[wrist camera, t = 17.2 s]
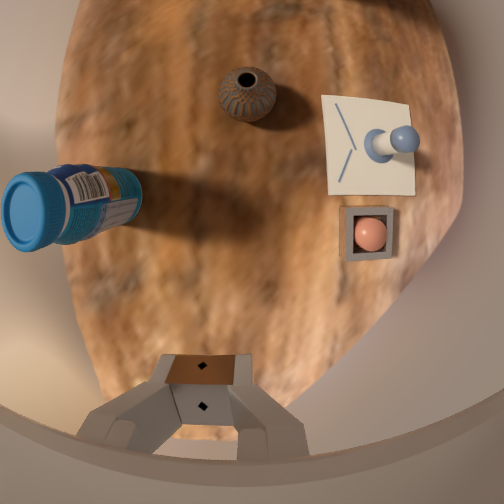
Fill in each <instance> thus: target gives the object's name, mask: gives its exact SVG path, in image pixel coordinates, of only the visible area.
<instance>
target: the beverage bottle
mask: <svg viewBox="0 0 504 504" xmlns="http://www.w3.org/2000/svg"><path fill="white" fill-rule="evenodd" d="M141 203H142V188H141V185H140V182H139V180H138V179H137V177H136V176H135V175H134V174H133V173H132V172H131V171H129V170H127V169H124V168H112V167H100V166H91V165H88V164H75V165H71V164H64V165H60V166H57V167H55V168H53V169H51V170H50V171H48V172H47V173H46V172H24V173H21V174H18V175H16V176H15V177H14V178H12V179H11V181H10V182H9V183H8V185H7V187H6V189H5V191H4V194H3V197H2V203H1V219H2V225H3V229H4V232H5V234H6V237H7V238H8V240H9V241H10V243H11V244H12V245H13V246H14V247H15V248H16V249H17V250H19V251H22V252H32V251H36V250H38V249H40V248H43V247H46V246H48V245H50V244H52V243H56V244H62V245H70V244H74V243H77V242H78V241H82V240H87V239H90V238H92V237H94V236H95V235H97V234H98V233H100V232H102V231H105V230H108V229H110V228H113V227H115V226H120V225H123V224H126V223H128V222H129V221H131V220H132V219H133V218H134V217H135V216H136V214H137V213H138V211H139V209H140V207H141Z"/></svg>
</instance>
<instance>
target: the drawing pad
mask: <svg viewBox="0 0 504 504" xmlns="http://www.w3.org/2000/svg"><path fill="white" fill-rule="evenodd" d="M321 99H322V109H323V119H324V130H325V143H326V159H327V178H328V195H406V196H415V166H414V152H409V153H396V154H390V155H383V156H379V155H377V154H375V153H374V152H373V150H372V148H371V140H372V138H373V137H374V136H376V135H379V134H382V133H385V132H388V131H391V130H393V129H395V128H398V127H401V126H405V125H408V126H411V119H410V111H409V105H405V104H399V103H393V102H387V101H380V100H373V99H365V98H356V97H345V96H332V95H321Z"/></svg>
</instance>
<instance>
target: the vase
mask: <svg viewBox="0 0 504 504" xmlns="http://www.w3.org/2000/svg"><path fill="white" fill-rule="evenodd" d="M218 96H219V102H220V104H221V107H222V108H223V110H224V111H225V112H226V113H227V114H228V115H229V116H230V117H231V118H233V119H235V120H238V121H242V122H253V121H257V120H260V119H262V118H263V117H265V116H266V115H267V114H268V113H269V112H270V111H271V110H272V108H273V106H274V104H275V101H276V96H277V93H276V87H275V84H274V82H273V80H272V79H271V78H270V76H269V75H268V74H267V73H265V72H264V71H262V70H260V69H258V68H254V67H241V68H237V69H235V70H233V71H231V72H230V73H229V74H227V75H226V76H225V78H224V79H223V80H222V82H221V84H220V87H219V93H218Z"/></svg>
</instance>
